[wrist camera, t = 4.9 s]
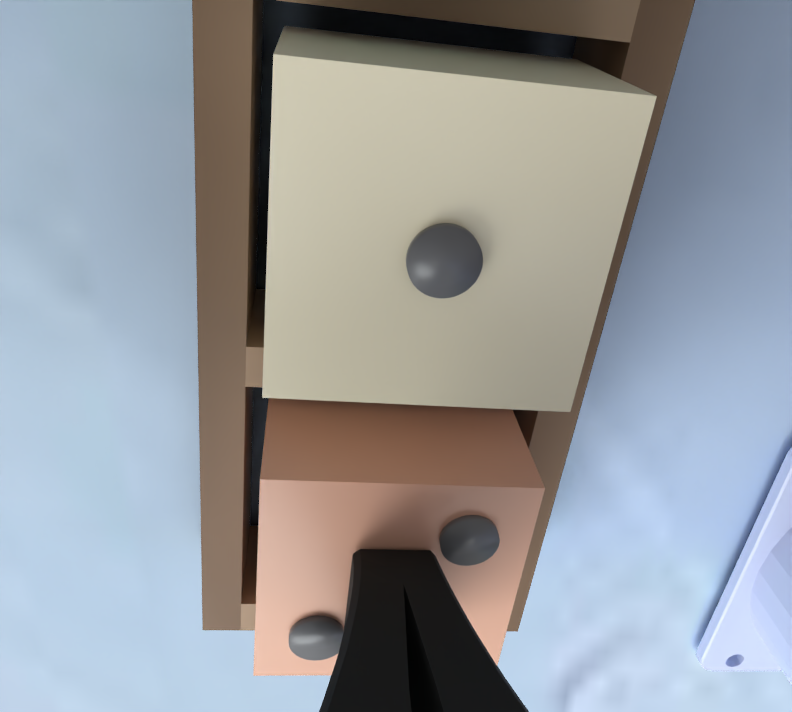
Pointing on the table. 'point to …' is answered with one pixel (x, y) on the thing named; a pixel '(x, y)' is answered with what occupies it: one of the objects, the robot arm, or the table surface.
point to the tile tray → (238, 235)
